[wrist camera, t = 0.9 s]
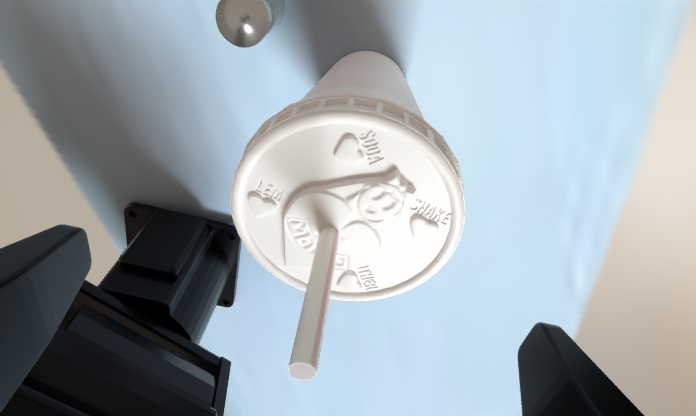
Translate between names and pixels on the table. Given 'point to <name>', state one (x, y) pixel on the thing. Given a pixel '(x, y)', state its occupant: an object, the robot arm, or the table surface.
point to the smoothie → (348, 195)
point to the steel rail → (247, 20)
